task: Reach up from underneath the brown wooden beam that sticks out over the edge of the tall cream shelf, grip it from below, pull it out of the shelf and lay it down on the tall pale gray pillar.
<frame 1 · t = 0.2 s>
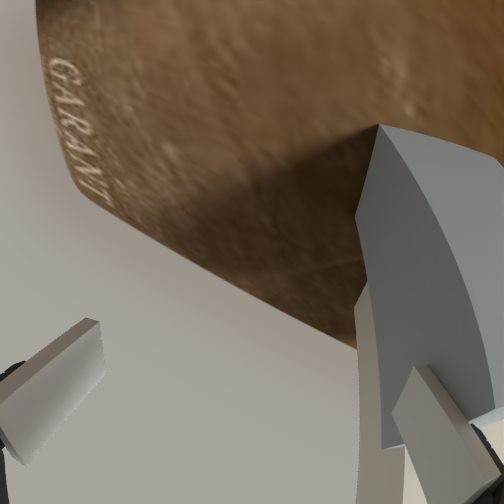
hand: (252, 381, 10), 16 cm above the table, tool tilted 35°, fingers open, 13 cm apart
tall pale gray pillar: (428, 185, 21), on the table
shelf stand: (419, 287, 30), on the table
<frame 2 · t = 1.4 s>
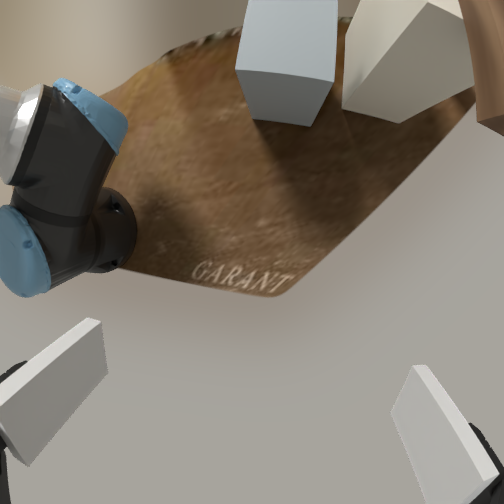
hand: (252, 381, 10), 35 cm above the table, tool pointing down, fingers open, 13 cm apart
tall pale gray pillar: (285, 87, 39), on the table
shelf stand: (372, 76, 37), on the table
brown wooden beam: (477, 8, 9), point 30 cm above the table, touching shelf stand
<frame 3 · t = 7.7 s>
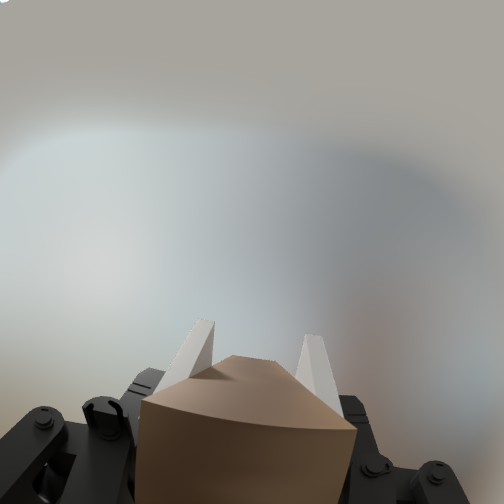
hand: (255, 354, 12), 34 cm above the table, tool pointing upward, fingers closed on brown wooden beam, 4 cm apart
brown wooden beam: (244, 426, 14), point 30 cm above the table, touching gripper, shelf stand
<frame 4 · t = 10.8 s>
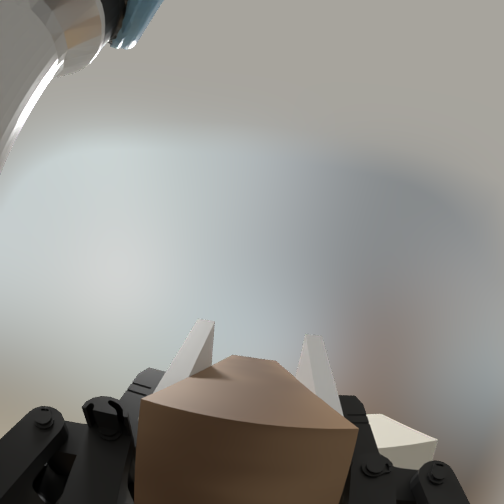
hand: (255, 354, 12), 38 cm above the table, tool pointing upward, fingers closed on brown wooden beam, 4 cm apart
brown wooden beam: (244, 426, 14), point 34 cm above the table, touching gripper
when the fingers open (25 cm above the table, at t = 14.0 s): brown wooden beam drops 2 cm, resting on tall pale gray pillar.
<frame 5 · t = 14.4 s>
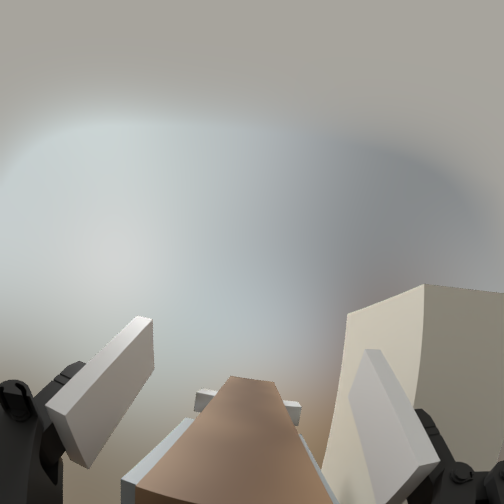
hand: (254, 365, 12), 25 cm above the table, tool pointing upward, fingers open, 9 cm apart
brown wooden beam: (240, 457, 13), point 19 cm above the table, touching tall pale gray pillar
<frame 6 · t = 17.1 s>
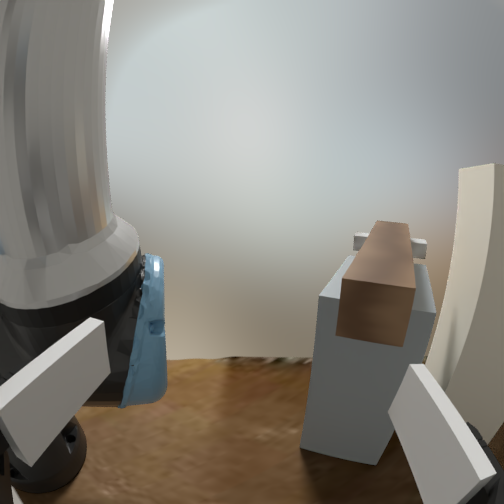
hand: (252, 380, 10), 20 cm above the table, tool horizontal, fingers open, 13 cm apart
tall pale gray pillar: (351, 421, 29), on the table
shelf stand: (452, 407, 27), on the table
brown wooden beam: (384, 278, 24), point 19 cm above the table, touching tall pale gray pillar
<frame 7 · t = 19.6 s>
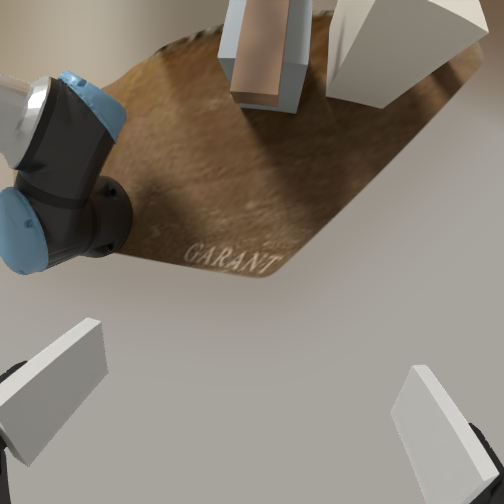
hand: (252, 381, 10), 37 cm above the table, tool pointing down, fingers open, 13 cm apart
tall pale gray pillar: (272, 78, 41), on the table
shelf stand: (356, 65, 39), on the table
brown wooden beam: (269, 17, 22), point 19 cm above the table, touching tall pale gray pillar
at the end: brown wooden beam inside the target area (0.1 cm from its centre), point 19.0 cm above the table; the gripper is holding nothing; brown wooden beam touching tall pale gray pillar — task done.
